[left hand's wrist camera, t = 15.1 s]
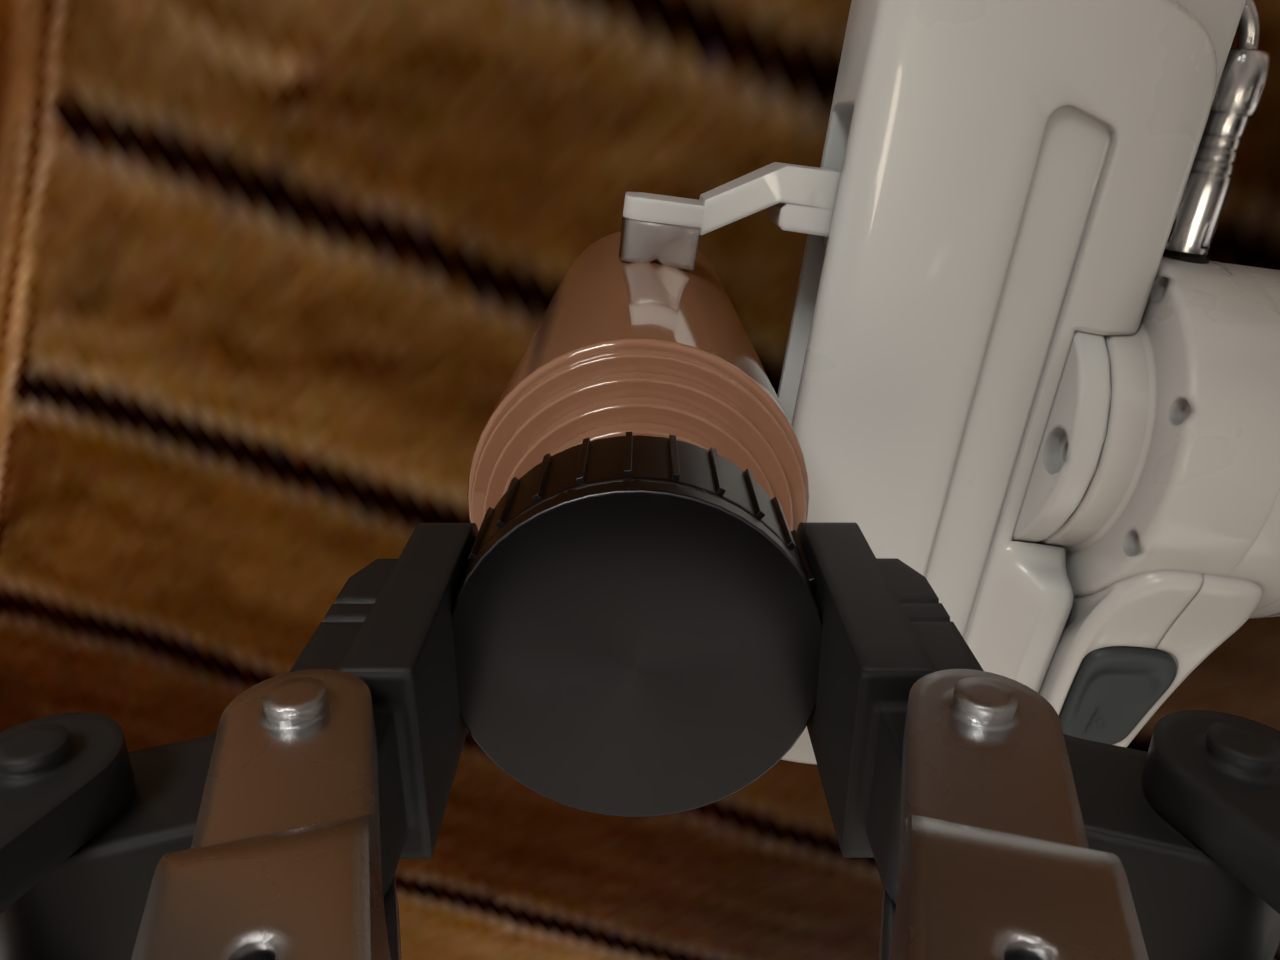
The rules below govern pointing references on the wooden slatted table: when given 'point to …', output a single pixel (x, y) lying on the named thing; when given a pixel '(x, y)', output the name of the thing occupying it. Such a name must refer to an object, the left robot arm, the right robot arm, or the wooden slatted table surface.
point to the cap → (636, 629)
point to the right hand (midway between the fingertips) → (605, 367)
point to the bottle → (639, 379)
